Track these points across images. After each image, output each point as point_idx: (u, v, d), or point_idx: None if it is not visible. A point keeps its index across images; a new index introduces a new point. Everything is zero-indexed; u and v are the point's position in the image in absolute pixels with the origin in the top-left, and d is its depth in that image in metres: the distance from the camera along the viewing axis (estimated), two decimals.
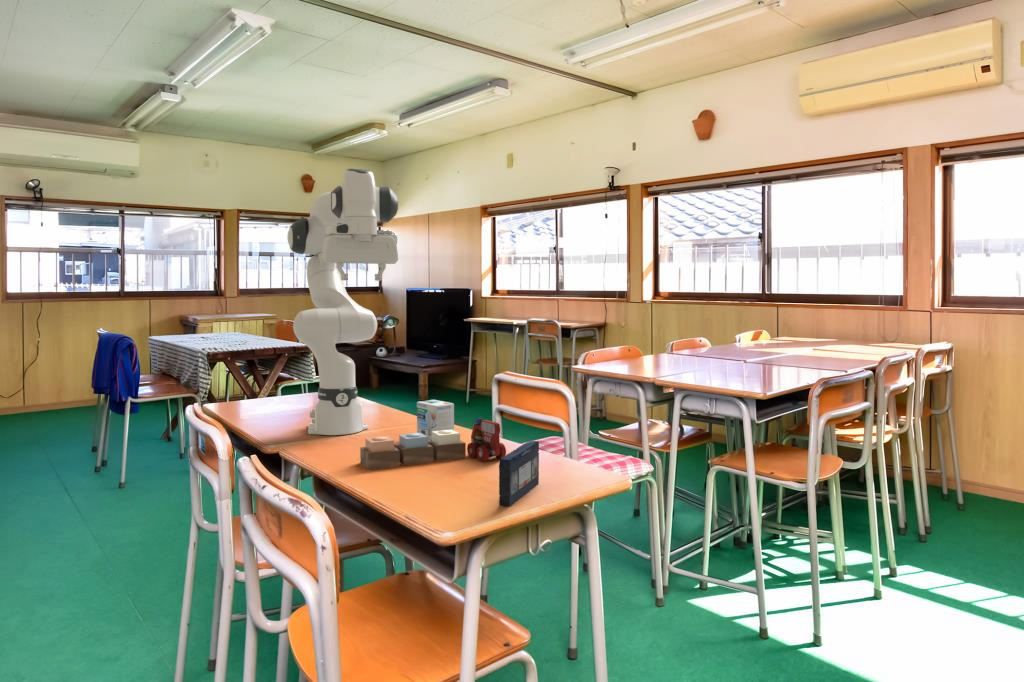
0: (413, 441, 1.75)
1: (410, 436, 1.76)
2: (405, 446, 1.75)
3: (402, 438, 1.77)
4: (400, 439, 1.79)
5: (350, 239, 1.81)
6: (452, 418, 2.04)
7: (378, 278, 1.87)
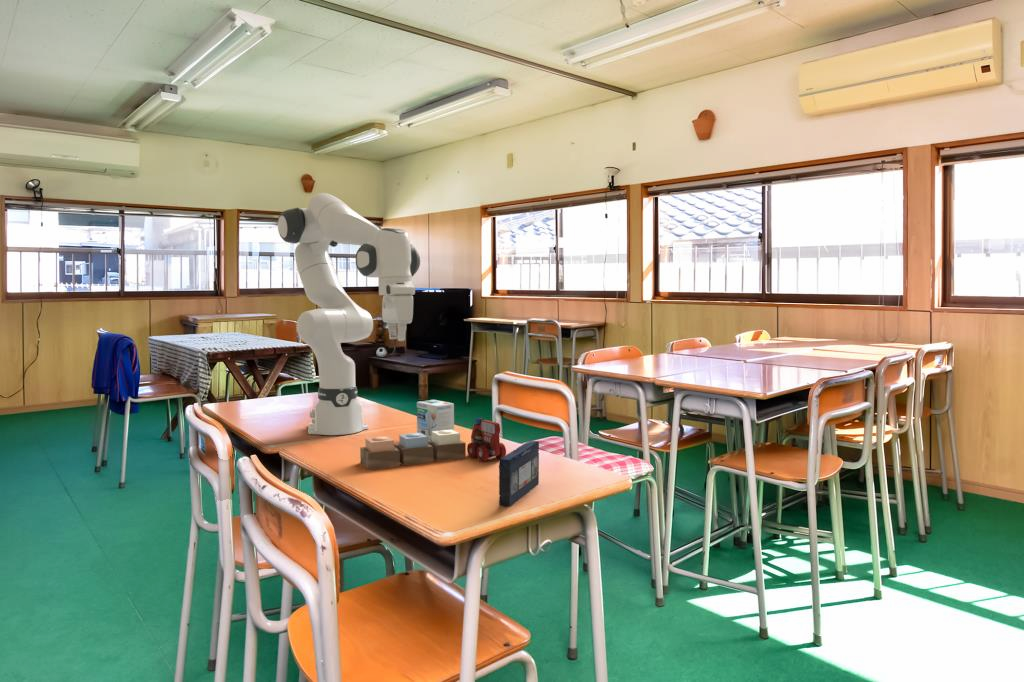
0: (413, 441, 1.75)
1: (410, 436, 1.76)
2: (405, 446, 1.75)
3: (402, 438, 1.77)
4: (400, 439, 1.79)
5: None
6: (452, 418, 2.04)
7: None
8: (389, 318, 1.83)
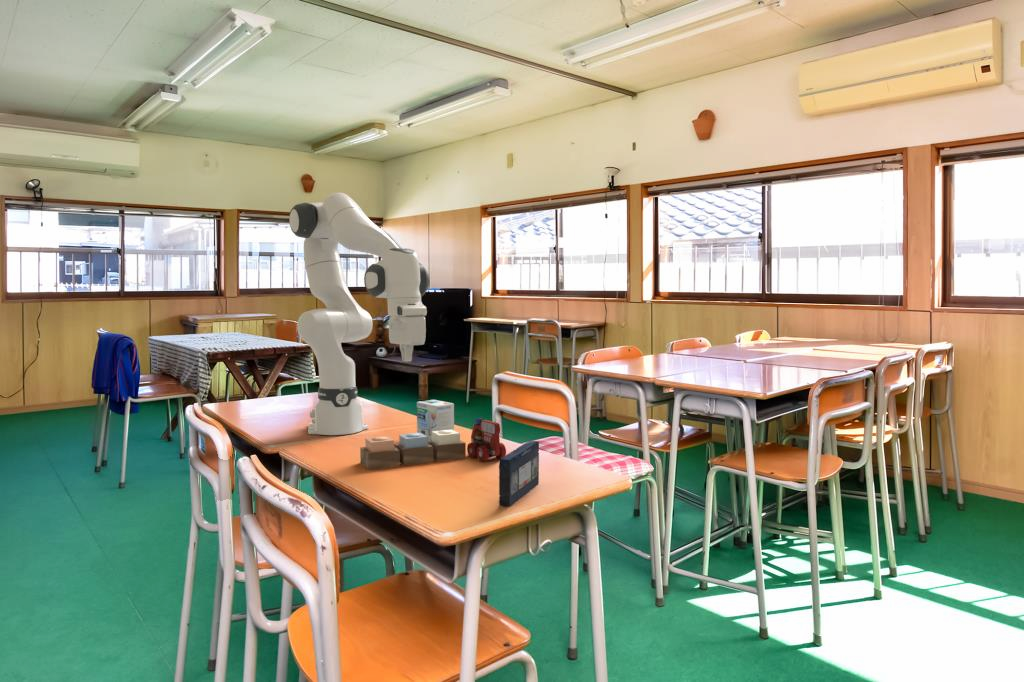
0: (413, 441, 1.75)
1: (410, 436, 1.76)
2: (405, 446, 1.75)
3: (402, 438, 1.77)
4: (400, 439, 1.79)
5: None
6: (452, 418, 2.04)
7: None
8: (399, 339, 1.80)
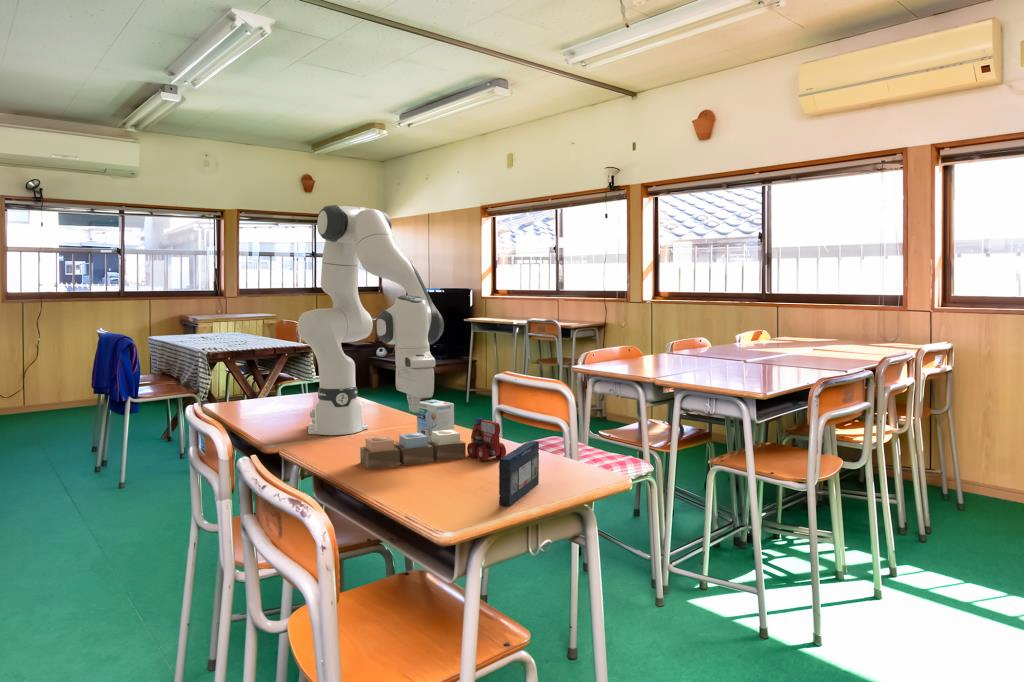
0: (413, 441, 1.75)
1: (410, 436, 1.76)
2: (405, 446, 1.75)
3: (402, 438, 1.77)
4: (400, 439, 1.79)
5: None
6: (452, 418, 2.04)
7: None
8: (406, 389, 1.77)
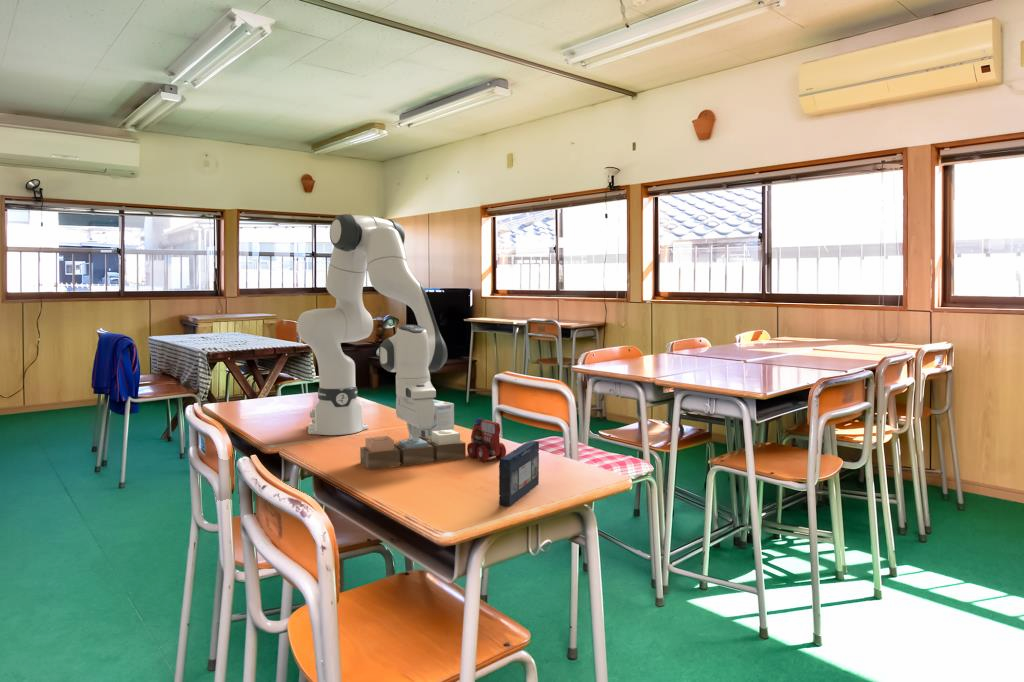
0: (413, 447, 1.75)
1: (410, 442, 1.77)
2: None
3: (402, 444, 1.77)
4: (400, 445, 1.79)
5: None
6: (452, 418, 2.04)
7: None
8: (406, 418, 1.77)
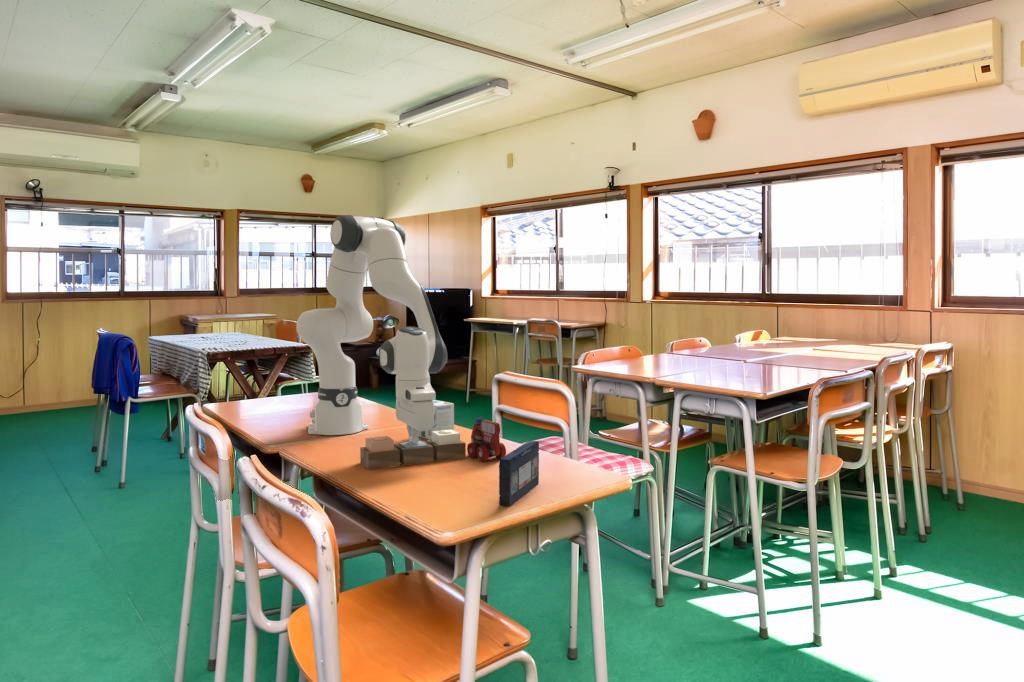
0: None
1: (410, 444, 1.77)
2: None
3: (402, 446, 1.77)
4: None
5: None
6: (452, 418, 2.04)
7: None
8: (406, 420, 1.77)
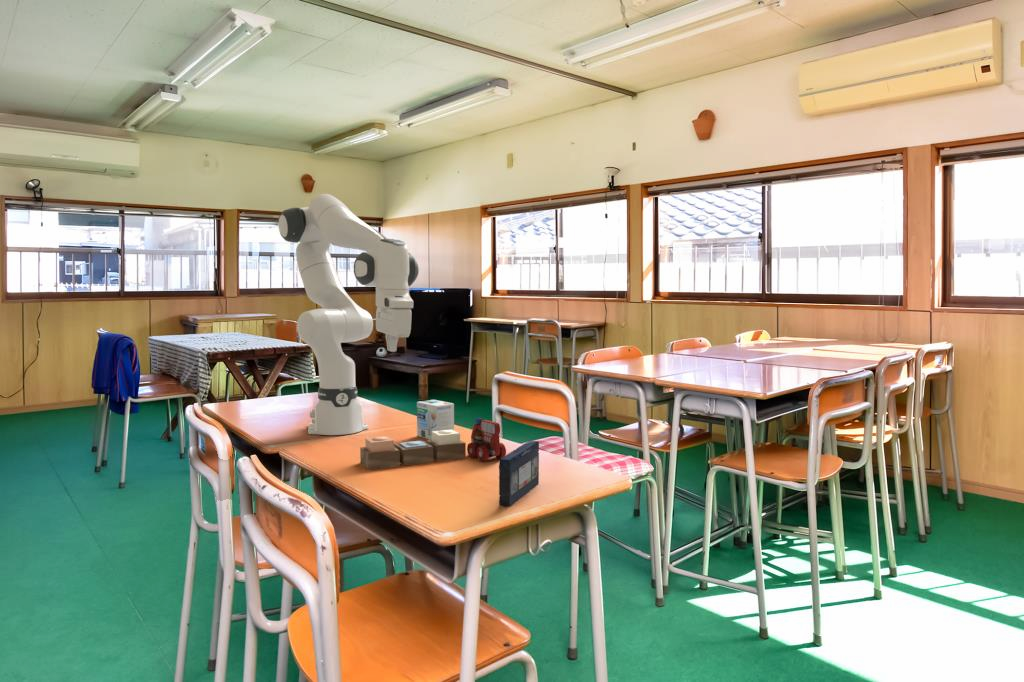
0: None
1: (410, 444, 1.77)
2: None
3: (402, 446, 1.77)
4: None
5: None
6: (452, 418, 2.04)
7: None
8: (385, 329, 1.84)
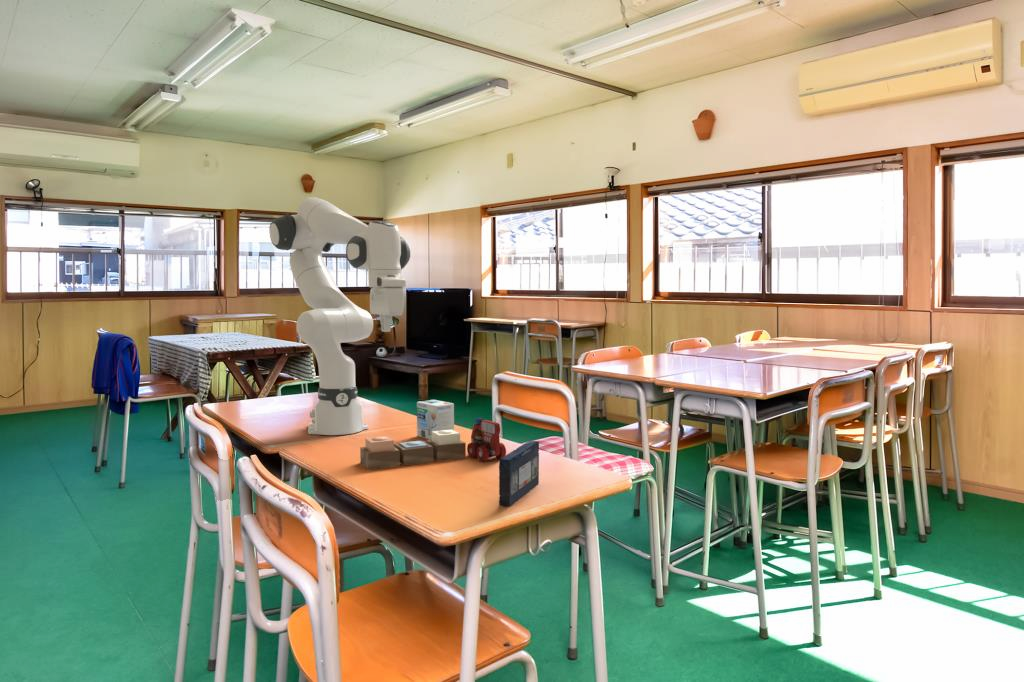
0: None
1: (410, 444, 1.77)
2: None
3: (402, 446, 1.77)
4: None
5: None
6: (452, 418, 2.04)
7: None
8: (378, 310, 1.85)
